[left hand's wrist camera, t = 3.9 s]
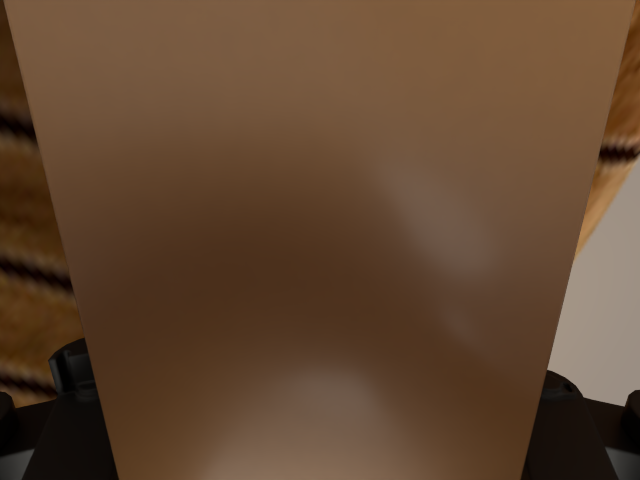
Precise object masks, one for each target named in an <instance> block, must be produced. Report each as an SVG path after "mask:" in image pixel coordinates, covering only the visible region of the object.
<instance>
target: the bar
mask: <svg viewBox="0 0 640 480" xmlns="http://www.w3.org/2000/svg"><path fill="white" fill-rule="evenodd" d="M635 2H636V0H4V4H5V9H6V13H7V17H8V21H9V25H10V29H11V33H12V38H13V42H14V46H15V50H16V54H17V58H18V62H19V67H20V71H21V75H22V79H23V83H24V87H25V92H26V96H27V100H28V104H29V108H30V112H31V116H32V121H33V125H34V129H35V133H36V137H37V141H38V146H39V150H40V154H41V158H42V162H43V166H44V170H45V175H46V179H47V183H48V187H49V191H50V195H51V199H52V204H53V208H54V212H55V216H56V220H57V224H58V229H59V233H60V237H61V241H62V245H63V249H64V253H65V258H66V262H67V266H68V270H69V274H70V278H71V283H72V287H73V291H74V295H75V299H76V303H77V307H78V312H79V316H80V320H81V324H82V328H83V332H84V337H85V341H86V345H87V349H88V353H89V357H90V361H91V366H92V370H93V374H94V378H95V382H96V386H97V390H98V395H99V399H100V403H101V407H102V411H103V415H104V420H105V424H106V428H107V432H108V436H109V440H110V444H111V449H112V453H113V457H114V461H115V465H116V469H117V474H118V478H119V480H521V476H522V472H523V467H524V463H525V459H526V455H527V451H528V447H529V442H530V438H531V434H532V430H533V426H534V422H535V418H536V413H537V409H538V405H539V401H540V397H541V393H542V388H543V384H544V380H545V376H546V372H547V368H548V363H549V359H550V355H551V351H552V347H553V343H554V339H555V334H556V330H557V326H558V322H559V318H560V314H561V309H562V305H563V301H564V297H565V293H566V289H567V284H568V280H569V276H570V272H571V268H572V264H573V260H574V255H575V251H576V247H577V243H578V239H579V235H580V230H581V226H582V222H583V218H584V214H585V210H586V205H587V201H588V197H589V193H590V189H591V185H592V181H593V176H594V172H595V168H596V164H597V160H598V156H599V151H600V147H601V143H602V139H603V135H604V131H605V127H606V122H607V118H608V114H609V110H610V106H611V102H612V97H613V93H614V89H615V85H616V81H617V77H618V72H619V68H620V64H621V60H622V56H623V52H624V48H625V43H626V39H627V35H628V31H629V27H630V23H631V18H632V14H633V10H634V6H635Z"/></svg>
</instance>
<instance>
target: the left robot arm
mask: <svg viewBox="0 0 640 480" xmlns="http://www.w3.org/2000/svg"><path fill="white" fill-rule="evenodd" d="M48 361H49V365H50V369H51V372H52V376H53V379H54V383H55V386H56V390H57V393H58V396H57V398H56V399H55V400H51V401H48V402H43V403H38V404H34V405H29V406H24V407H20V408H15V406H14V403H13V400H12V397H11V396H10V395H8V394H7V393H6V392H0V480H119V478H118V474H117V469H116V465H115V461H114V457H113V453H112V449H111V444H110V440H109V436H108V432H107V428H106V424H105V420H104V415H103V411H102V407H101V403H100V399H99V395H98V390H97V386H96V382H95V378H94V374H93V370H92V366H91V361H90V357H89V353H88V349H87V345H86V341H85V338H82V339H79V340H76V341H74V342H72V343H69V344H67V345H65V346H64V347H62V348H61V349H59V350H58V351H56V352H55V353H54V354H53V355H52V356H51V358H50V359H49V360H48ZM521 480H640V390H635V391H634V392H632V393H631V394H629V396H628V399H627V402H626V405H625V407H624V406H619V405H614V404H610V403H605V402H600V401H596V400H591V399H588V398H584V397H583V395H582V394H581V392H580V391H579V389H578V388H577V387H576V385H574V384H573V383H572V382H570V381H569V380H568V379H566V378H565V377H563V376H561V375H559V374H557V373H555V372H553V371H549V370H547V372H546V376H545V380H544V384H543V388H542V393H541V397H540V401H539V405H538V409H537V413H536V418H535V422H534V426H533V430H532V434H531V438H530V442H529V447H528V451H527V455H526V459H525V463H524V467H523V472H522V476H521Z"/></svg>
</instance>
